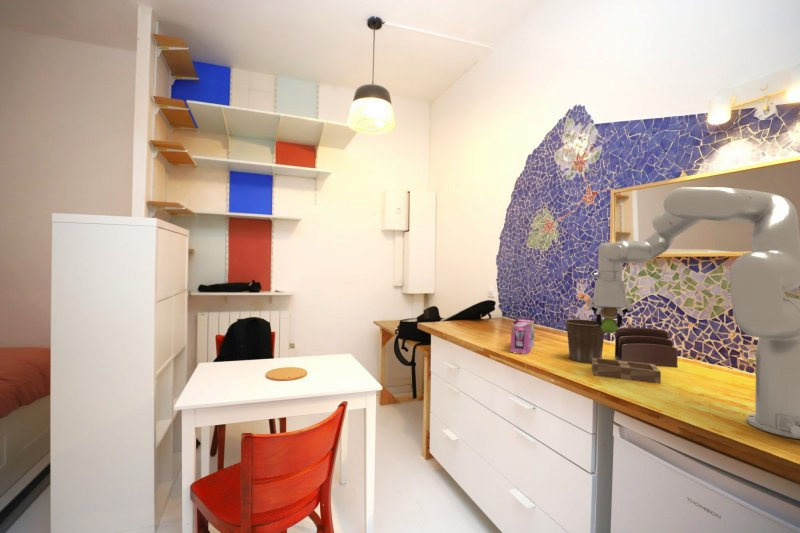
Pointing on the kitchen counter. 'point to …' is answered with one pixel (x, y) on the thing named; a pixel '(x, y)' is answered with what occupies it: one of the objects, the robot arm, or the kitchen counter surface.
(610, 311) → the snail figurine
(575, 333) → the plant pot
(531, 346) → the gum box
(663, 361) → the letter holder
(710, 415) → the kitchen counter surface
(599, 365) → the brown wooden flat frame
